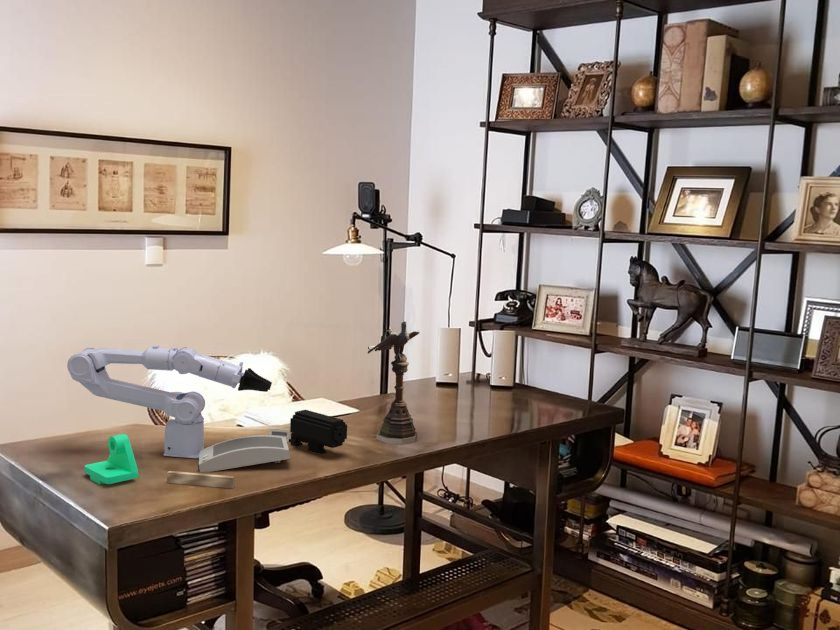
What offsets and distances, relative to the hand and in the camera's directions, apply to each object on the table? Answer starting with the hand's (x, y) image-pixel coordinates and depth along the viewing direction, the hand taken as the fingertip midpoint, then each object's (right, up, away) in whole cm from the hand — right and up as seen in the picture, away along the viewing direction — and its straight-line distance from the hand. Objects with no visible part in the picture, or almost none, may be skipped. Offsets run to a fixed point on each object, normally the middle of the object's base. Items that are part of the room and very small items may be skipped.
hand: (269, 387), depth 219 cm
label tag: (0, -17, +16) cm, 23 cm away
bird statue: (+30, -17, +25) cm, 43 cm away
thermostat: (-6, -20, -5) cm, 21 cm away
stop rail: (-12, -21, -22) cm, 33 cm away
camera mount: (-34, -20, -20) cm, 44 cm away
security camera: (+11, -18, +8) cm, 23 cm away
